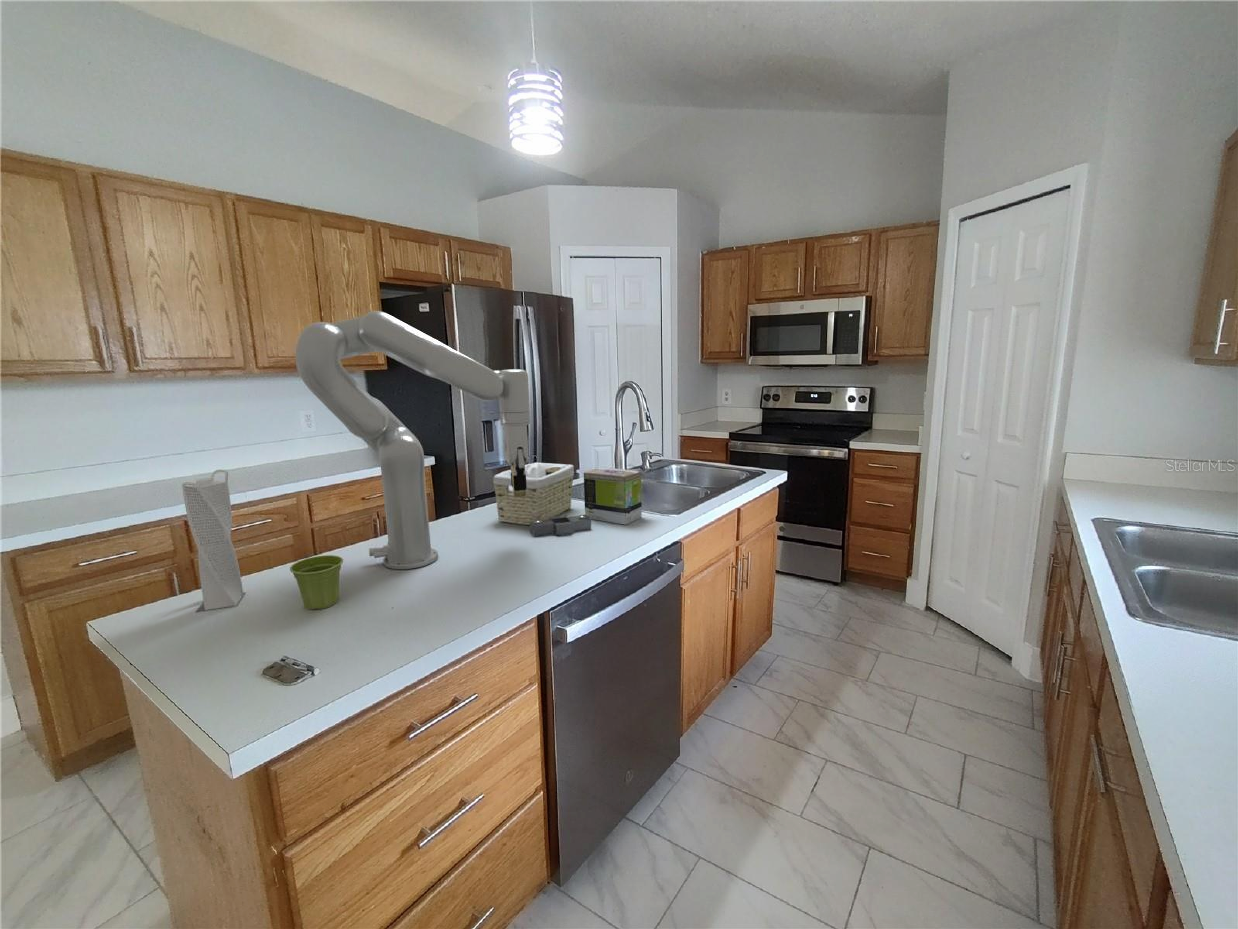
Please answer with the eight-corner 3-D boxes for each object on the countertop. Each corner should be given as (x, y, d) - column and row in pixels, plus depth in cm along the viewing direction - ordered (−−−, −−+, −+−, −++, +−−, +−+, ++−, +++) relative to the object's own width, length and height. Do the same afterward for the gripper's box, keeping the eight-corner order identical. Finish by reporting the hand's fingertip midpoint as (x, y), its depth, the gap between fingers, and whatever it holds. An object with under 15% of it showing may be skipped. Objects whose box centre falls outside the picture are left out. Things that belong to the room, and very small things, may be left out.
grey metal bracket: (535, 538, 150) (534, 526, 150) (529, 529, 158) (528, 517, 158) (593, 531, 156) (592, 519, 155) (584, 522, 164) (584, 511, 163)
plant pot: (357, 599, 114) (352, 560, 112) (312, 618, 106) (307, 576, 104) (330, 590, 119) (325, 552, 117) (285, 607, 111) (280, 567, 109)
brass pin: (514, 497, 142) (512, 467, 141) (512, 494, 145) (510, 464, 144) (526, 496, 143) (525, 466, 142) (524, 493, 146) (523, 463, 145)
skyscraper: (253, 593, 119) (234, 465, 113) (243, 608, 111) (222, 473, 106) (207, 599, 116) (184, 469, 110) (193, 616, 108) (169, 477, 103)
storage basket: (534, 503, 187) (533, 460, 184) (577, 508, 181) (576, 463, 178) (493, 523, 165) (490, 475, 162) (539, 529, 159) (537, 479, 156)
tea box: (642, 517, 169) (642, 470, 166) (625, 526, 161) (625, 476, 158) (602, 510, 177) (601, 465, 174) (583, 518, 169) (582, 471, 166)
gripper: (496, 416, 147) (500, 483, 150) (505, 422, 132) (509, 497, 135) (524, 414, 149) (527, 480, 153) (536, 421, 134) (539, 494, 138)
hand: (519, 487), depth 144 cm, fingers closed on brass pin, 3 cm apart
